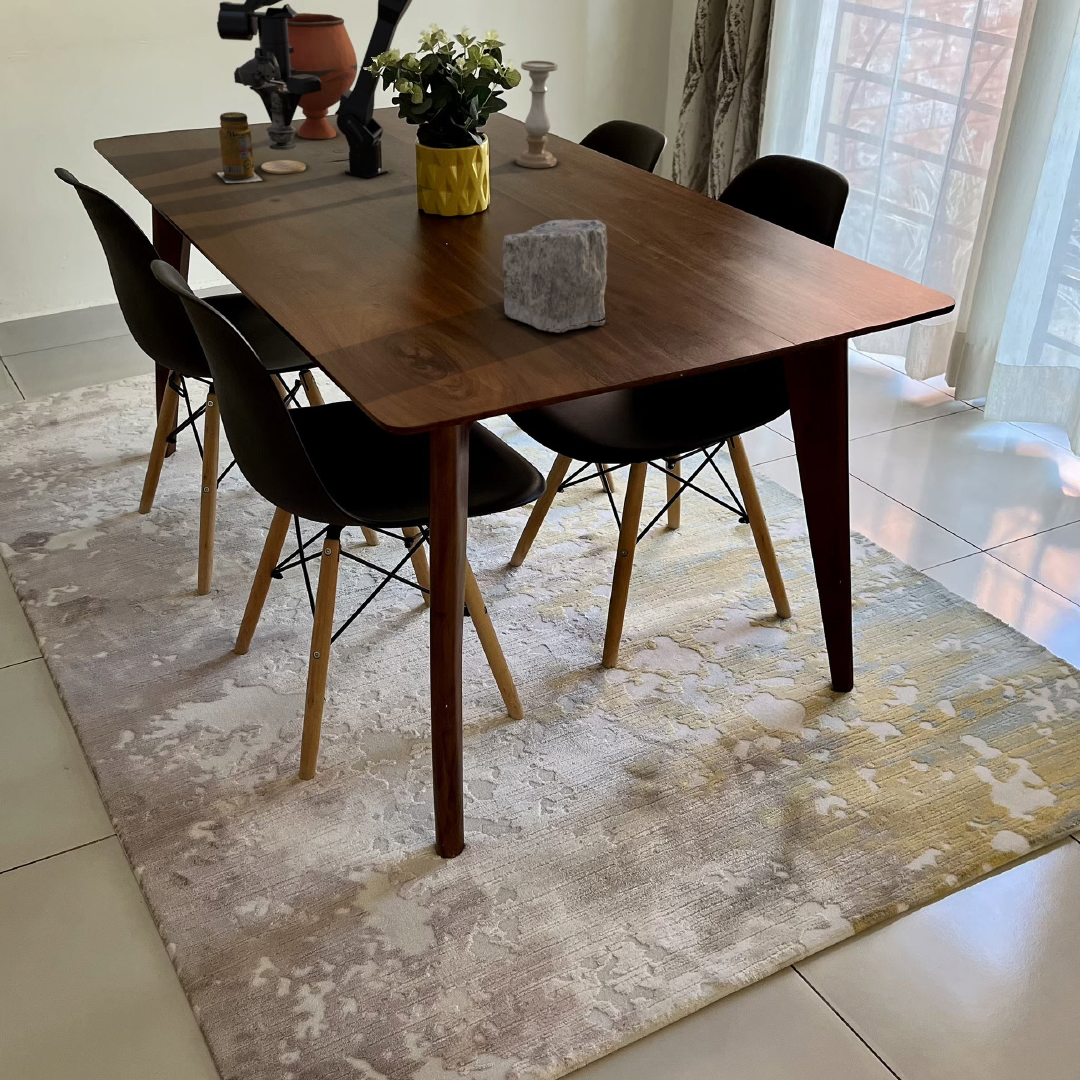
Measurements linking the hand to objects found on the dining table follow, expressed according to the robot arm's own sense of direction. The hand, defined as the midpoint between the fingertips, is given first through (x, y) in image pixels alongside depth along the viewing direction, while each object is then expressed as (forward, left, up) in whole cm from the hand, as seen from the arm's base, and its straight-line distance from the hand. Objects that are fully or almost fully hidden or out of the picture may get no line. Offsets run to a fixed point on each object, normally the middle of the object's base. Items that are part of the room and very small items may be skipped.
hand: (280, 124), depth 241 cm
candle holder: (-38, +37, -9) cm, 54 cm away
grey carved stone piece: (0, 0, -5) cm, 5 cm away
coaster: (0, 0, -9) cm, 9 cm away
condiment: (+11, -2, -9) cm, 14 cm away
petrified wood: (+34, +89, -9) cm, 96 cm away
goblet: (-26, -15, -9) cm, 31 cm away
